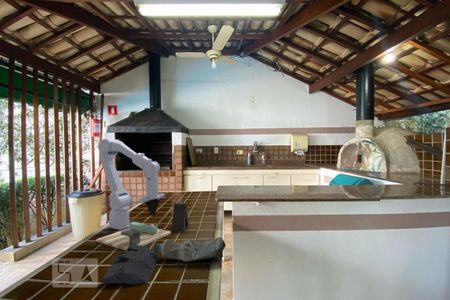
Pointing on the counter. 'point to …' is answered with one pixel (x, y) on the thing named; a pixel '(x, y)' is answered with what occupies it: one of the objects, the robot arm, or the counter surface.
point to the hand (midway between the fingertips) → (152, 215)
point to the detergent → (191, 249)
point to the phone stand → (180, 216)
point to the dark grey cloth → (132, 266)
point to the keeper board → (125, 239)
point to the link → (143, 227)
